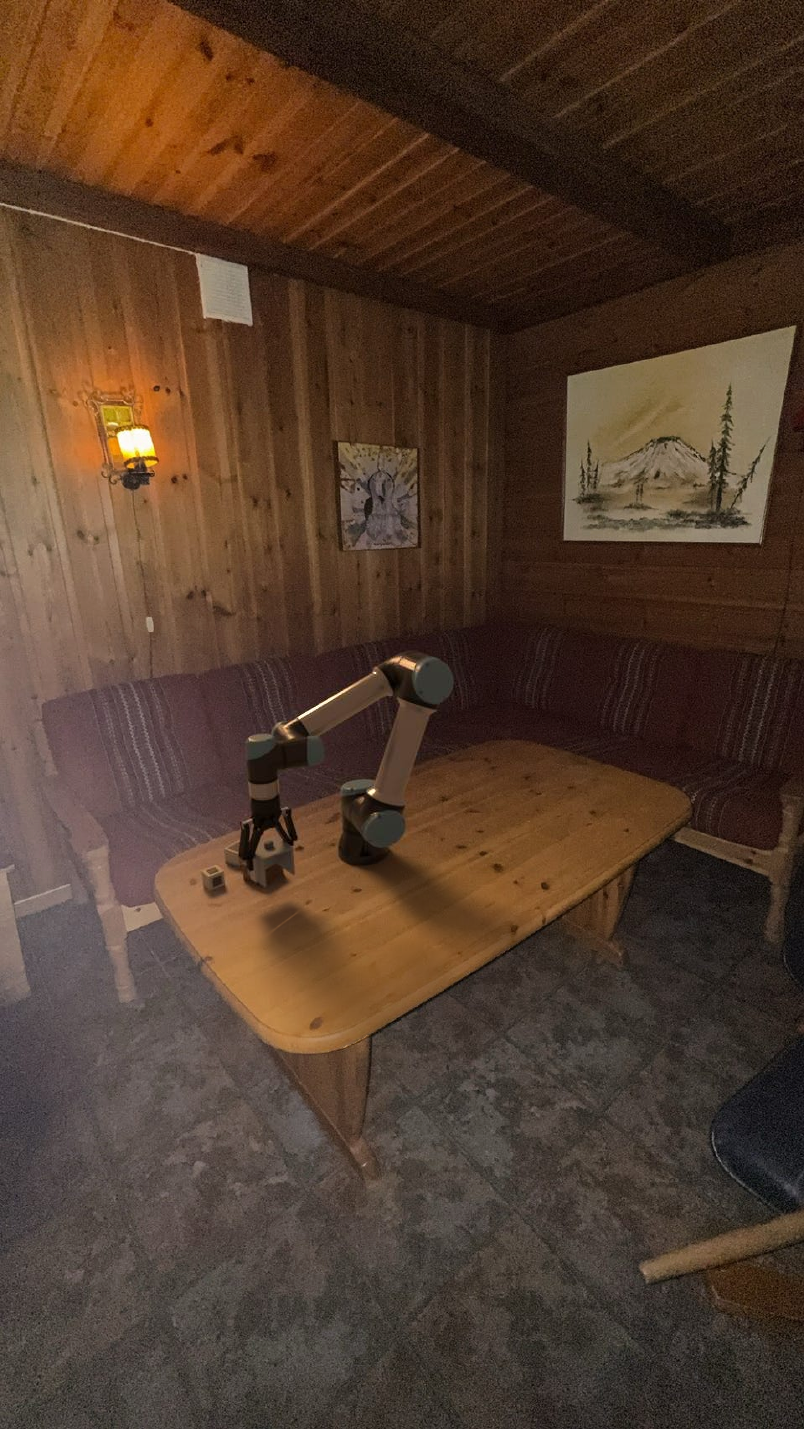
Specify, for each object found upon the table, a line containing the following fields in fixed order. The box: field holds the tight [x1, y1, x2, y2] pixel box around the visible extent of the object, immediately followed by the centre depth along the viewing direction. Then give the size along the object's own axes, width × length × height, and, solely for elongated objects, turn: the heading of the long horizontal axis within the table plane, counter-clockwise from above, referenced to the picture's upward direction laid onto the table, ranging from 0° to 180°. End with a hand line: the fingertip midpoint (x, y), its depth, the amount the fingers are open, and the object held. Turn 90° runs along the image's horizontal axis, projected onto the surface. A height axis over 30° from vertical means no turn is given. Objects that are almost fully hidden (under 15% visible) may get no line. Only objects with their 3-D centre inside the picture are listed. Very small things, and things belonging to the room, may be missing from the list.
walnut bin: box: [241, 861, 285, 888], centre depth 178 cm, size 8×8×5 cm
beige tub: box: [223, 839, 246, 868], centre depth 187 cm, size 6×6×4 cm
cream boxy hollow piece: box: [200, 864, 226, 892], centre depth 174 cm, size 5×4×5 cm
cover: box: [247, 835, 296, 888], centre depth 163 cm, size 9×9×9 cm
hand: (271, 873), depth 165 cm, fingers closed on cover, 9 cm apart
